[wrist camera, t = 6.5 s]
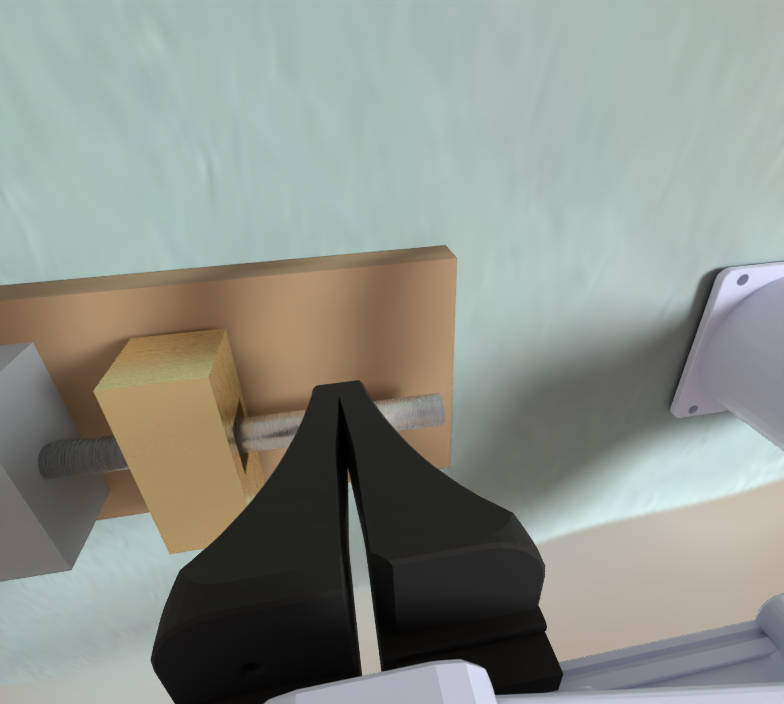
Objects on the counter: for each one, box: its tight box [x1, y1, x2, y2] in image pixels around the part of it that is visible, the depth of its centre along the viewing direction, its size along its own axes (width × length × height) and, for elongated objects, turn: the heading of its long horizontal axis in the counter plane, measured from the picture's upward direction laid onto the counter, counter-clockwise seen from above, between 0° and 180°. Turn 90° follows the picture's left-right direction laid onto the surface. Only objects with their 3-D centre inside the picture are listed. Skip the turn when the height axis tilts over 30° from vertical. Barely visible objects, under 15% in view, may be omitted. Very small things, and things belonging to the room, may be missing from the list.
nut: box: [93, 328, 264, 554], centre depth 15 cm, size 3×7×3 cm, turn 2°
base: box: [0, 245, 457, 582], centre depth 16 cm, size 18×10×5 cm, turn 92°
